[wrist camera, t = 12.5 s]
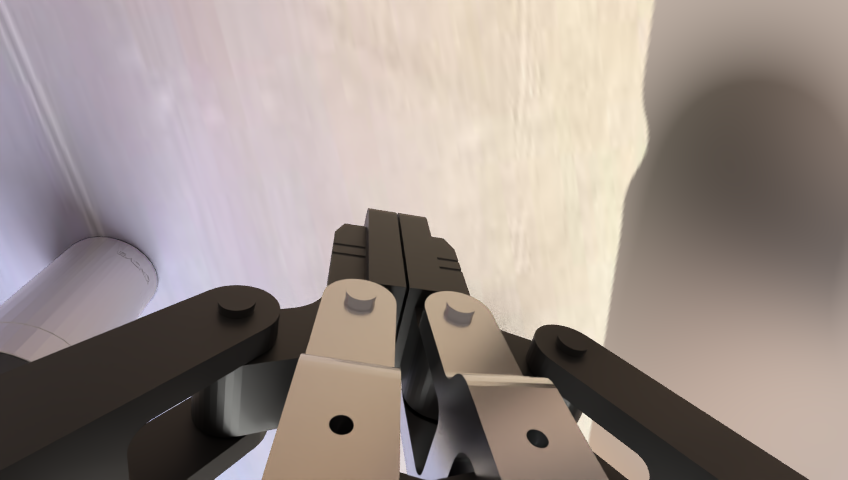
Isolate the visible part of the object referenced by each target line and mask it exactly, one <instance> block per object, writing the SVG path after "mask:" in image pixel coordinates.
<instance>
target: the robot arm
mask: <svg viewBox="0 0 848 480" xmlns="http://www.w3.org/2000/svg"><path fill="white" fill-rule="evenodd" d="M157 282H158V279H157V275H156V271H155V269H154V267H153V265H152V263H151V262H150V261H149V260H148V258H147V257H146V256H145V255H144V254H143V253H141V252H140V251H139V250H138V249H136V248H135V247H133V246H131V245H130V244H127V243H125V242H123V241H120V240H116V239H112V238H106V237H94V238H87V239H84V240H81V241H79V242H77V243H75V244H74V245H72V246H71V247H70V248H69V249H67V250H66V251H65V252H64V253H63V254H61V255H60V256H59V257H58V258H57V259H55V260H54V261H53V262H52V263H51V264H49V265H48V266H47V267H46V268H44V269H43V270H42V271H41V272H40V273H38V274H37V275H36V276H35V277H34V278H33V279H31V280H30V281H29V282H28V283H27V284H25V285H24V286H23V287H22V288H21V289H19V290H18V291H17V292H16V293H15V294H13V295H12V296H11V297H10V298H9V299H7V300H6V301H5V302H4V303H3V304H2V305H0V480H214V479H215V478H216V477H218V476H219V475H220V474H222V473H223V472H224V471H225V470H227V469H228V468H229V467H231V466H232V465H233V464H234V463H236V462H237V461H238V460H240V459H241V458H242V457H243V456H245V455H246V454H247V453H248V452H250V451H251V450H252V449H254V448H255V447H256V446H257V445H258V444H259V443H260V442H261V441H262V440H263V438H264V436H265V435H266V432H267V430H272V429H277V431H276V434H275V438H274V441H273V444H272V447H271V451H270V454H269V457H268V460H267V464H266V467H265V470H264V473H263V477H262V480H628V479H627V478H625V477H624V476H623V475H622V474H620V473H619V472H618V471H617V470H615V469H614V468H613V467H611V466H610V465H609V464H608V463H607V462H605V461H604V460H603V459H602V458H600V457H599V456H598V455H596V454H595V453H594V452H593V451H592V449H591V448H590V446H589V444H588V442H587V441H586V439H585V437H584V435H583V434H582V432H581V430H580V428H579V427H578V425H577V422H578V420H579V418H580V416H581V414H582V412H583V413H584V414H585V415H587V416H588V417H589V418H591V419H592V420H593V421H595V422H596V423H597V424H599V425H600V426H602V427H603V428H604V429H605V430H607V431H608V432H609V433H611V434H612V435H613V436H615V437H616V438H617V439H619V440H620V441H621V442H623V443H624V444H625V445H626V446H628V447H629V448H630V449H632V450H633V451H634V452H636V453H637V454H638V455H639V456H640V457H641V458H642V459H643V460H644V462H645V463H646V465H647V467H648V470H649V474H650V479H649V480H809V479H807V478H806V477H804V476H802V475H801V474H799V473H798V472H796V471H795V470H793V469H792V468H790V467H789V466H787V465H785V464H784V463H782V462H781V461H779V460H778V459H776V458H775V457H773V456H772V455H770V454H768V453H767V452H765V451H764V450H762V449H761V448H759V447H758V446H756V445H754V444H753V443H751V442H750V441H748V440H747V439H745V438H743V437H742V436H741V435H739V434H737V433H736V432H734V431H733V430H731V429H730V428H728V427H727V426H725V425H724V424H722V423H720V422H719V421H717V420H716V419H714V418H713V417H711V416H710V415H708V414H706V413H705V412H703V411H702V410H700V409H699V408H697V407H696V406H694V405H692V404H691V403H689V402H688V401H686V400H685V399H683V398H682V397H680V396H678V395H677V394H675V393H674V392H672V391H671V390H669V389H668V388H666V387H665V386H663V385H662V384H660V383H658V382H657V381H655V380H654V379H652V378H651V377H649V376H648V375H646V374H644V373H643V372H641V371H640V370H638V369H637V368H635V367H634V366H632V365H631V364H629V363H627V362H626V361H624V360H623V359H621V358H620V357H618V356H617V355H615V354H614V353H612V352H610V351H609V350H607V349H606V348H604V347H603V346H601V345H600V344H598V343H597V342H595V341H593V340H592V339H590V338H589V337H587V336H586V335H584V334H582V333H580V332H578V331H576V330H574V329H571V328H568V327H565V326H560V325H544V326H542V327H540V328H538V329H537V330H536V332H535V334H534V337H533V339H532V341H531V340H528V339H525V338H522V337H519V336H516V335H513V334H510V333H507V332H504V331H502V330H500V329H499V327H498V325H497V323H496V321H495V319H494V317H493V315H492V313H491V311H490V310H489V309H488V308H487V307H486V306H485V305H484V304H483V303H482V302H480V301H479V300H477V299H475V298H473V297H471V296H470V294H469V291H468V288H467V285H466V282H465V279H464V276H463V273H462V272H461V268H460V265H459V263H458V259H457V256H456V253H455V250H454V249H453V248H452V247H451V246H450V245H449V244H448V243H447V242H446V241H445V240H444V239H443V238H436V237H431V233H430V230H429V226H428V222H427V219H426V217H420V216H414V215H407V214H401V213H398V214H397V213H395V212H388V211H382V210H376V209H370V208H368V210H367V214H366V219H365V225H364V226H357V225H351V224H344V225H343V226H341V227H340V228H339V229H338V230H337V231H335V236H334V242H333V249H332V255H331V262H330V268H329V275H328V281H327V287H326V289H325V290H324V292H323V295H322V297H321V298H320V299H319V300H317V301H316V302H314V303H312V304H309V305H306V306H302V307H297V308H288V309H280V305H279V303H278V301H277V300H276V299H275V298H274V297H273V296H272V295H271V294H269V293H268V292H266V291H264V290H261V289H259V288H255V287H250V286H241V285H231V286H223V287H218V288H215V289H212V290H209V291H206V292H204V293H201V294H199V295H196V296H194V297H191V298H189V299H186V300H184V301H181V302H179V303H176V304H174V305H171V306H169V307H166V308H164V309H161V310H159V311H156V312H154V313H151V314H149V315H147V316H144V317H142V318H139V319H138V317H139V316H140V314H141V313H142V312H143V310H144V309H145V307H146V306H147V305H148V303H149V302H150V300H151V299H152V297H153V296H154V294H155V293H156V289H157ZM401 381H402V390H401ZM190 396H192V397H190ZM189 397H190V398H189ZM187 398H189V399H187ZM185 399H187V400H185ZM184 400H185V401H184ZM182 401H183V402H182ZM180 402H182V403H180ZM178 403H180V404H178ZM177 404H178V405H177ZM175 405H177V406H175ZM173 406H175V407H173ZM172 407H173V408H172ZM170 408H172V409H170ZM168 409H170V410H168ZM167 410H168V411H167ZM165 411H167V412H165ZM163 412H165V413H163ZM161 413H163V414H161ZM160 414H161V415H160ZM158 415H160V416H158ZM156 416H158V417H156ZM155 417H156V418H155ZM153 418H155V419H153ZM152 419H153V420H152ZM150 420H151V421H150ZM149 421H150V422H149ZM147 422H148V423H147ZM400 432H401V438H402V444H403V450H404V456H405V462H406V468H407V474H404V473H400Z"/></svg>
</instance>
